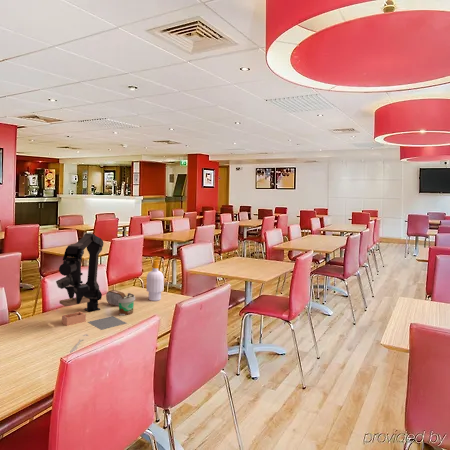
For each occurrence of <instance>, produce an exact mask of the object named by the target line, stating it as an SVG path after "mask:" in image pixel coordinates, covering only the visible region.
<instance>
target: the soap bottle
mask: <svg viewBox="0 0 450 450" xmlns="http://www.w3.org/2000/svg"><path fill="white" fill-rule="evenodd" d="M160 262H161V260H156V259H154V260H153V262H152V270H151V271H148V273H147V274H146V292H147V293H148V300H149V301H152V302H157V301H160V300H162V292H164V290H165V289H164V284H165V283H164V281H165V277H164V274H163V272H162V271H160V270H159V263H160Z"/></svg>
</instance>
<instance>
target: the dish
mask: <svg viewBox="0 0 450 450" xmlns="http://www.w3.org/2000/svg"><path fill="white" fill-rule="evenodd" d="M86 317H87V316H86V313H84V312H82V311H78V312H71V313H67V314H62V315H61V323H62V324H63V325H64V326H67V327H69V326H73V325H76V324H81V323H85V322H86V321H87V320H86Z"/></svg>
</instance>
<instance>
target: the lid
mask: <svg viewBox="0 0 450 450" xmlns="http://www.w3.org/2000/svg"><path fill="white" fill-rule="evenodd" d="M87 302H90V299H88V298H86V297H84V296H83V298H82V300H81V302H80V304H79V305H82V304H87ZM59 304H60V305H61V306H64V307H66V308H67V307H71V306H76V305H78V304H77V301H76V296H74V297H73V298H67V299H60V300H59Z"/></svg>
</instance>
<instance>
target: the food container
mask: <svg viewBox="0 0 450 450" xmlns="http://www.w3.org/2000/svg"><path fill="white" fill-rule="evenodd" d="M135 301H136V296H135V294H133V293H131V292H129V293H127V295H126V296H125V297H123V298H122V299H119V300H118V303H119V306H118V314H119V316H129V315H132V314H133V313H134V305H135V304H134V302H135Z"/></svg>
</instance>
